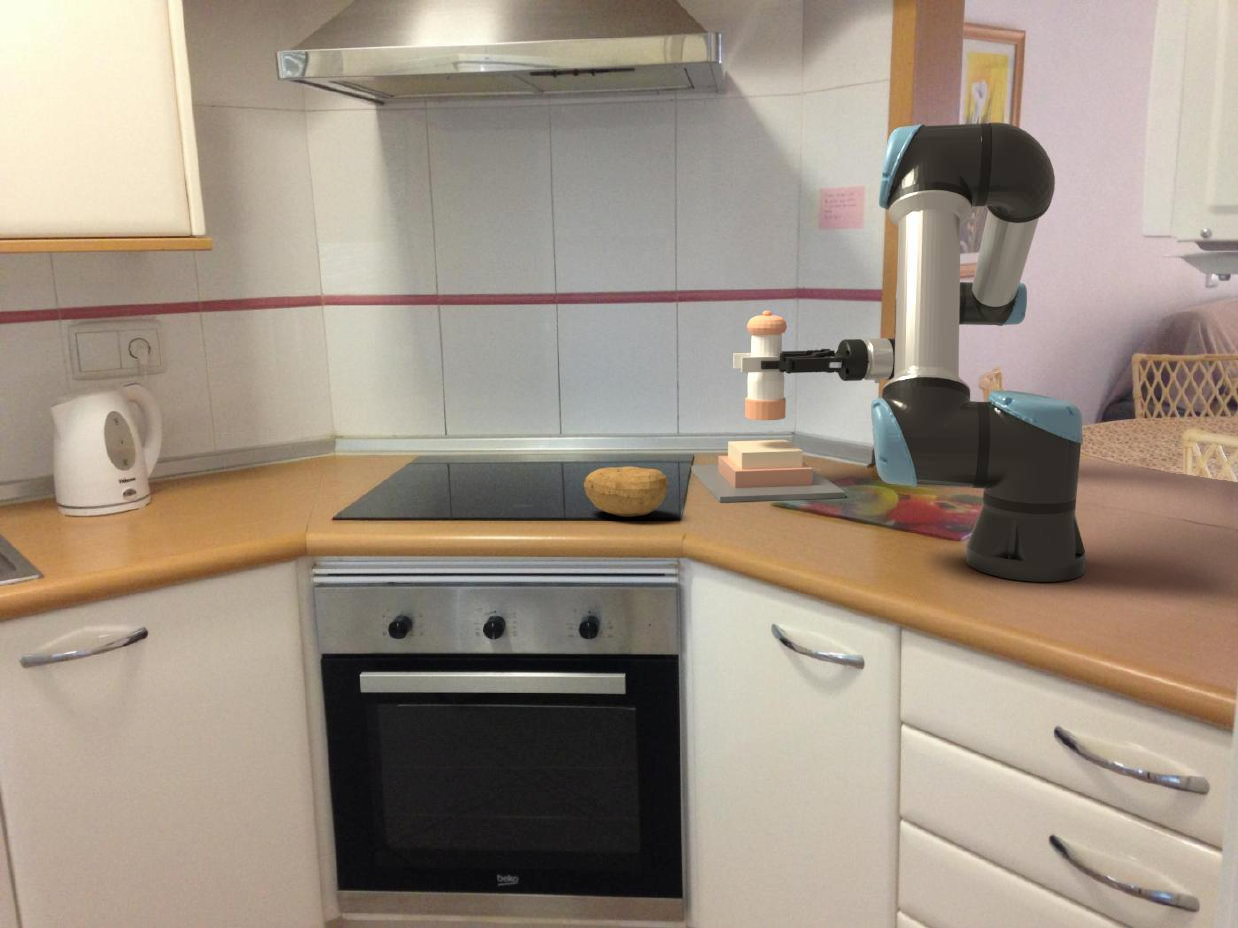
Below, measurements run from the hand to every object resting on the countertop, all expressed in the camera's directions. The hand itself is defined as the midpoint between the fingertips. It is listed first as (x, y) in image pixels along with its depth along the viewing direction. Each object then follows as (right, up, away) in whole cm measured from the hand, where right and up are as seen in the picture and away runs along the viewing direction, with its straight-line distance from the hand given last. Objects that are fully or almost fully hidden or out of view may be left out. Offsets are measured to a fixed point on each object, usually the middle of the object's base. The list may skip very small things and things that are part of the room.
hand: (737, 362), depth 186 cm
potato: (-20, -27, -17) cm, 37 cm away
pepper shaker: (+5, -10, +3) cm, 11 cm away
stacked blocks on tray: (+5, -22, +5) cm, 23 cm away
